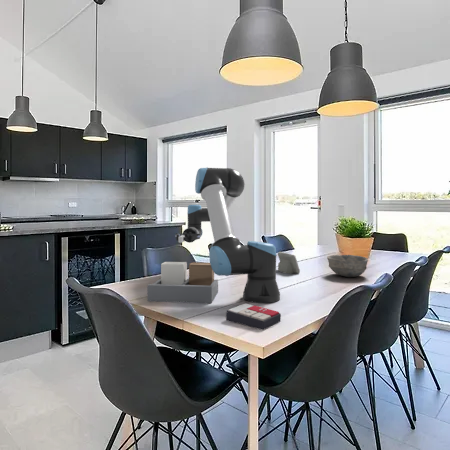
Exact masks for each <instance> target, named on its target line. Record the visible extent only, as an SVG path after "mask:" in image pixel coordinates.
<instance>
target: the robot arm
mask: <svg viewBox="0 0 450 450" xmlns="http://www.w3.org/2000/svg"><path fill="white" fill-rule="evenodd" d="M245 185H246V184H245V180H244V177H243V176H242V174H241V173H240V172H239V171H238V170H236V169H233V168H231V167H230V168H229V167H226V168H223V167H222V168H221V167H208V166H207V167H200V168H198V169H197V171H196V176H195V185H194V186H195V187H194V191H195V193H196V194H199V195H200V198H202V199H203V200H204V201H205V204H206V207H202V205H201V204H188V206H187V228H186V229H184V230H183V232H182V233H174V234H175V240H176V241H178V243H180V244H181V243H184V242H187V243H193V242H195V241H197V240H200V239H201V237H202V236H203V229H202V222H203V223H205V222H209V223H210V227H211V231H212V236H213V237H212V238H213V240H214V242H213V243H212V244H211V247H210V249H209V251H208V252H209V253H208V258H209V263H210V264H211V267H212V270H213V271H214V275H217V276H226V277H228V276H238V275H247V279H246V283H245V286H244V289H243V293H242V299H243V300H245V301H247V302H250V303H256V304H257V303H258V304H269V303H274V302H278V301H280V300H281V293H280V289H279V285H278V283H277V256H278V254H277V248H276V246H275V244H272V243H269V242H262V241H253V240H249V241H248V240H247V243H246V244H244V245H242V244H241V241H240V239H239V238H238V237H236V236H235V233H234V228H233V224H232V221H231V216H230V213H229V209H230V208H231V206H232V205H233V203H234V201H235V200H236V198H239V197H240V196H241V195H242V194H243V192H244V190H245Z"/></svg>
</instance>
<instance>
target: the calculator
mask: <svg viewBox="0 0 450 450" xmlns="http://www.w3.org/2000/svg"><path fill="white" fill-rule="evenodd" d="M225 313H226V314H225V315H226V316H225V317H226V318H225V321H226V322H230V323H234V324H236V323H237V324H241V325H243V326H248V327H251V328H254V329H259V330H263V331H264V330H266V329H268V328H269V327H271V326H274V325H276V324H278V323H280V322H281V319H282V318H281V316H282V315H281V314H282V313H280V311H277V310H273V309H269V308H265V307H263V306H259V305H253V304H250V303H249V304H248V303H243V304H240V305H238V306H234V307H232V308H229V309H227V310H226V312H225Z"/></svg>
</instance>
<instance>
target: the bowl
mask: <svg viewBox="0 0 450 450" xmlns="http://www.w3.org/2000/svg"><path fill="white" fill-rule="evenodd" d="M326 259H327V260H328V267H329V269H331V271H332V272H333V273H335V274H336V275H338V276H341V277H345V278H357V277H358V276H361V275H363V274H364V273H365V271H366V270H367V265H368V262H369V258H367V257H364V256H361V255H352V254H342V255H340V254H332V255H328V256H327V257H326Z"/></svg>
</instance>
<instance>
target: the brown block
mask: <svg viewBox="0 0 450 450" xmlns="http://www.w3.org/2000/svg"><path fill="white" fill-rule="evenodd" d="M188 279H189V285H204V286H211V284H212V283H213V281H214V280H215V273H214V271H213V270H212V267H211V264H210V262H204V261H203V262H202V261H201V262H196V261H195V262H193V261H192V262H191V263H188Z"/></svg>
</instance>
